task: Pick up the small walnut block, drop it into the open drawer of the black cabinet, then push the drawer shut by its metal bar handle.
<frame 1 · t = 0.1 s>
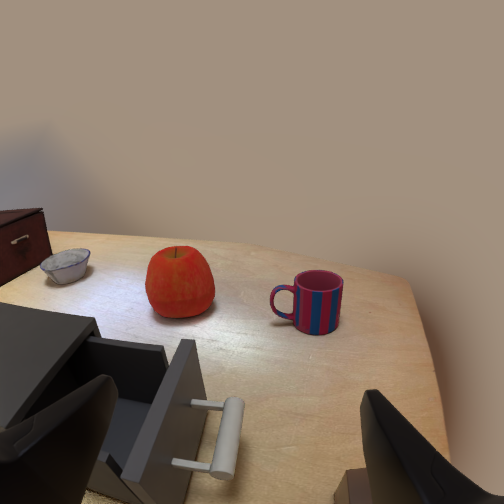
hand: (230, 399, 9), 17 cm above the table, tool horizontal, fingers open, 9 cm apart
bowl: (69, 277, 59), on the table
apple: (183, 310, 47), on the table
drawer: (119, 422, 20), point 5 cm above the table, slide at 9.0 cm
mug: (304, 323, 42), on the table
cabinet: (43, 420, 23), on the table
storage box: (7, 264, 69), on the table
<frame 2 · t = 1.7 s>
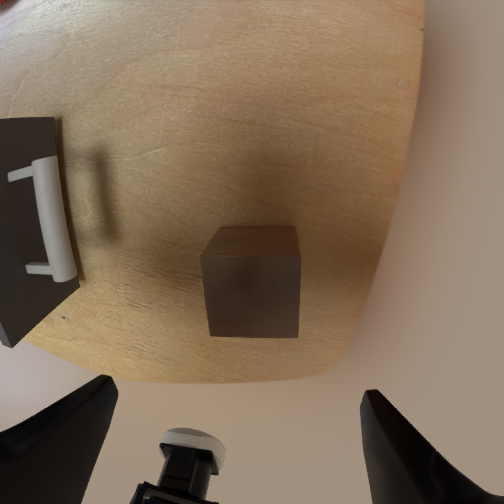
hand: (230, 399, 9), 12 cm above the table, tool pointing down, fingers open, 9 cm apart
block: (258, 262, 20), on the table
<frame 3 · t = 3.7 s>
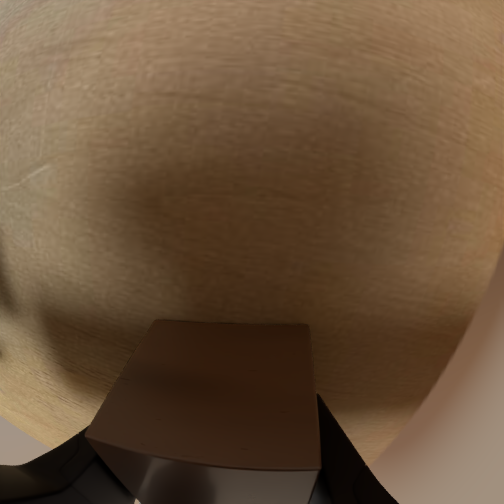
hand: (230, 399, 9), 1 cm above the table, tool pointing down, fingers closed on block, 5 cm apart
block: (234, 378, 10), on the table, touching gripper
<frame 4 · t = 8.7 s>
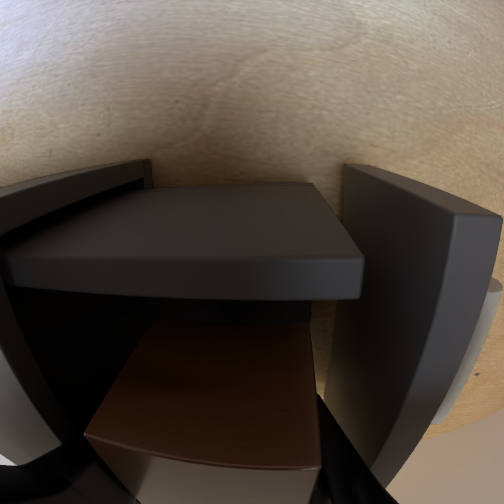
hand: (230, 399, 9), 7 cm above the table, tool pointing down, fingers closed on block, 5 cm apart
drawer: (235, 363, 11), point 5 cm above the table, slide at 9.0 cm
block: (234, 377, 10), point 6 cm above the table, touching gripper
cabinet: (59, 286, 17), on the table
when the fingers open (11 cm above the table, at t = 26.1 s): block drops 8 cm, resting on drawer.
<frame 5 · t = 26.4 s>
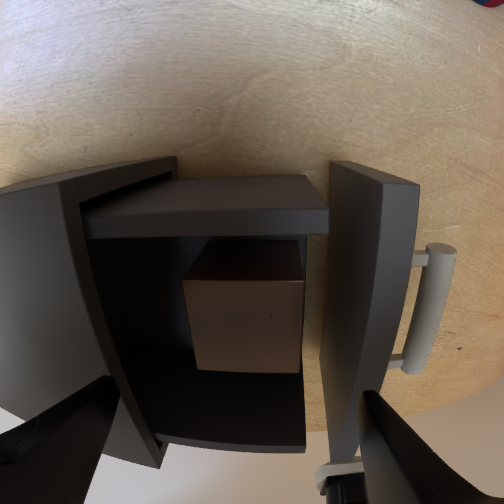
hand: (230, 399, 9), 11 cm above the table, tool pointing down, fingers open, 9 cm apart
drawer: (246, 313, 14), point 5 cm above the table, slide at 9.0 cm, touching block
block: (254, 281, 17), point 2 cm above the table, touching drawer
cabinet: (88, 266, 21), on the table
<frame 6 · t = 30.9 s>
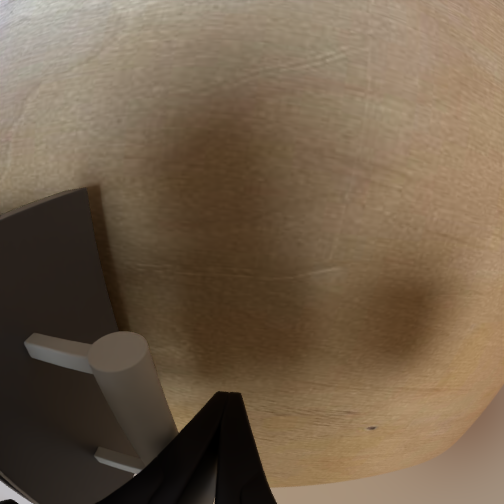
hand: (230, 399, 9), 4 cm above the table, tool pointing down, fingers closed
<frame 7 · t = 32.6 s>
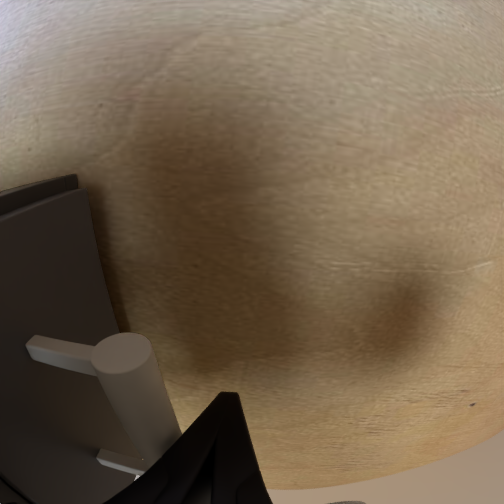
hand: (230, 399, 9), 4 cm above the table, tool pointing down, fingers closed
cabinet: (12, 309, 14), on the table
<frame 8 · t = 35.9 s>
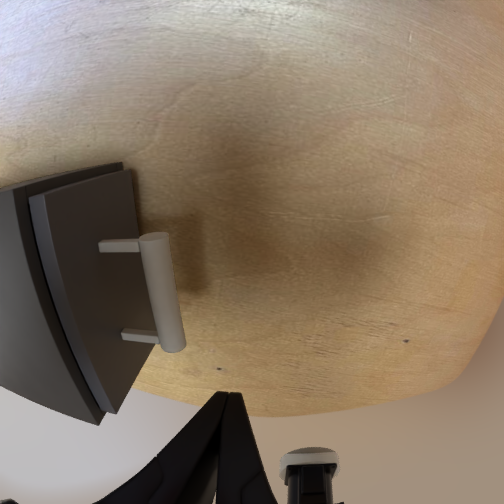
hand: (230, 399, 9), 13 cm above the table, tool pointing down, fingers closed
drawer: (53, 284, 18), point 5 cm above the table, slide at 0.0 cm, touching block, cabinet
cabinet: (59, 256, 23), on the table
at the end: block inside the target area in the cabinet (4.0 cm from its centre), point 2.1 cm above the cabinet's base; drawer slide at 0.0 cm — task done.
